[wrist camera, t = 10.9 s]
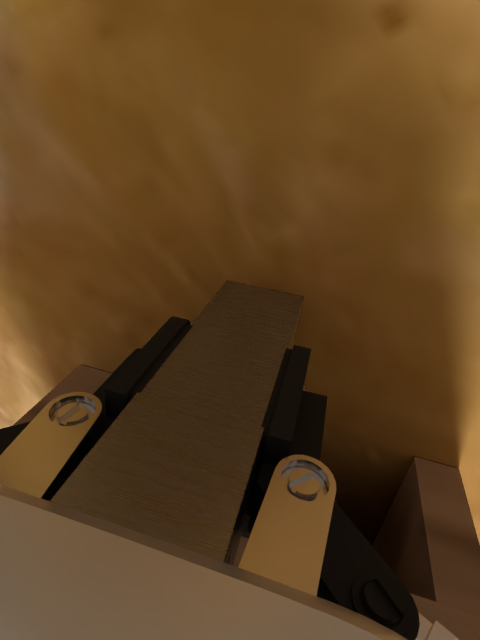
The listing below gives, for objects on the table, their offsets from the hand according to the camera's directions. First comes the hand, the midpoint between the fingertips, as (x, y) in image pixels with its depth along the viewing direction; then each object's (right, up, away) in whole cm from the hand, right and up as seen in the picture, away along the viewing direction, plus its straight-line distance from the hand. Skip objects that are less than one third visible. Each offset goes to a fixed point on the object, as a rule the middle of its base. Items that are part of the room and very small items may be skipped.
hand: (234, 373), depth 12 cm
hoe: (0, -3, +6) cm, 7 cm away
